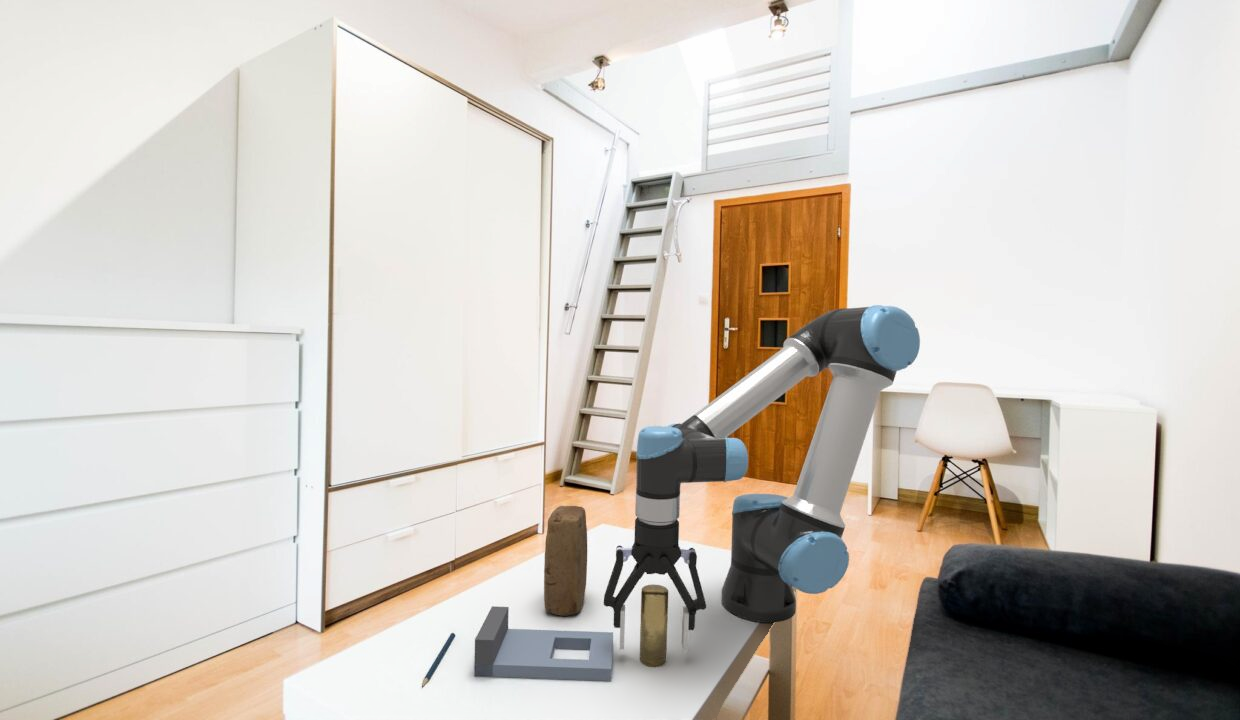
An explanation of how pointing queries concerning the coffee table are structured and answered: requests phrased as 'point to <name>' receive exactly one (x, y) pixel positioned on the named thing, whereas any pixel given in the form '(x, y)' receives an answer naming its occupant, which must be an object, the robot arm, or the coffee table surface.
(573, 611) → the block
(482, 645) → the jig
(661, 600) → the brass cylinder rod
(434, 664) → the pencil
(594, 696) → the coffee table surface
